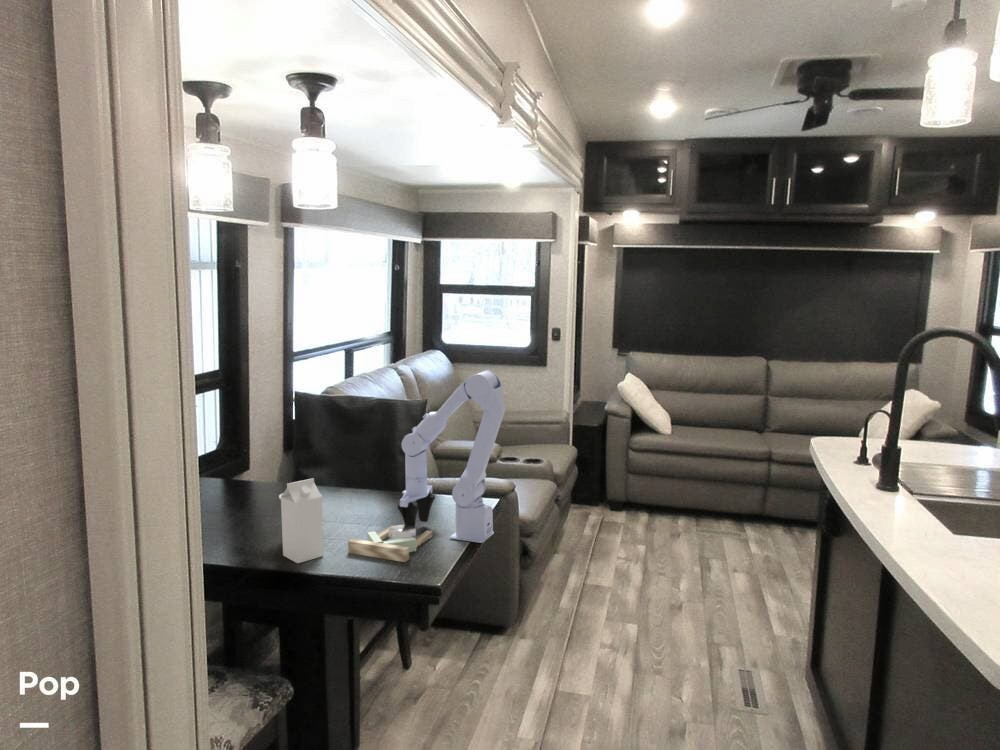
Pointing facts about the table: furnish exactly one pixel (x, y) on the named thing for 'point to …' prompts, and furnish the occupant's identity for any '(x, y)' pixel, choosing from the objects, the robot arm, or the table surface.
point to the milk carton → (302, 521)
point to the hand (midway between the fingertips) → (417, 525)
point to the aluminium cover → (401, 532)
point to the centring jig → (387, 546)
